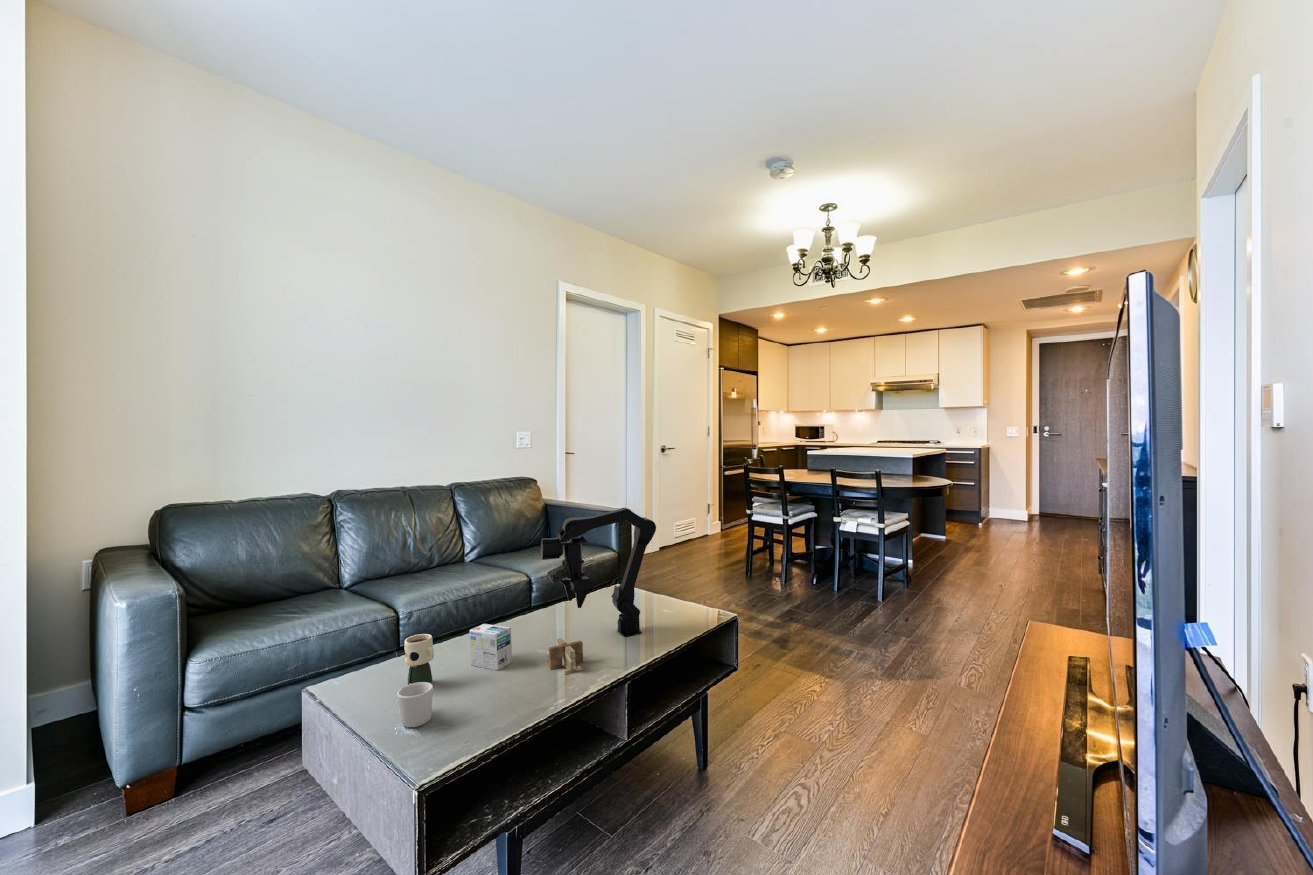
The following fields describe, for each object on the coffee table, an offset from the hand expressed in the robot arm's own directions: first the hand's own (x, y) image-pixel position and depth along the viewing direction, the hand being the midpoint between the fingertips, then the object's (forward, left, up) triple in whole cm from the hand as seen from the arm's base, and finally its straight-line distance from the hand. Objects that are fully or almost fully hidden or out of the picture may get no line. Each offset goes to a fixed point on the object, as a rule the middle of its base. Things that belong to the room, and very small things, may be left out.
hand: (574, 604), depth 181 cm
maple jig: (+9, +17, -12) cm, 23 cm away
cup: (+50, +28, -12) cm, 59 cm away
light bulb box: (+28, +4, -12) cm, 31 cm away
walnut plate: (+9, +17, -12) cm, 23 cm away
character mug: (+48, +8, -12) cm, 50 cm away
